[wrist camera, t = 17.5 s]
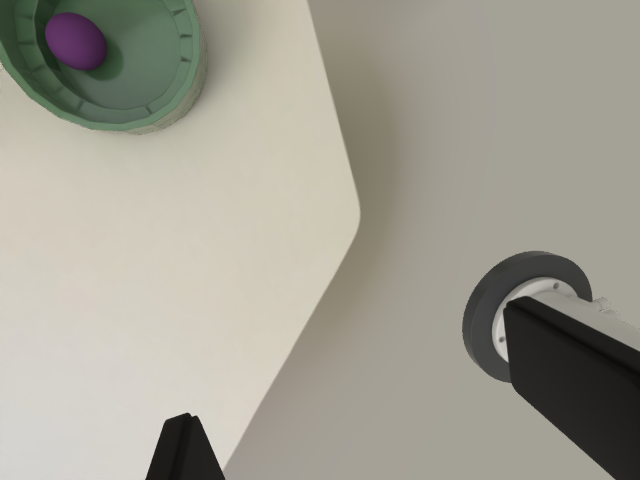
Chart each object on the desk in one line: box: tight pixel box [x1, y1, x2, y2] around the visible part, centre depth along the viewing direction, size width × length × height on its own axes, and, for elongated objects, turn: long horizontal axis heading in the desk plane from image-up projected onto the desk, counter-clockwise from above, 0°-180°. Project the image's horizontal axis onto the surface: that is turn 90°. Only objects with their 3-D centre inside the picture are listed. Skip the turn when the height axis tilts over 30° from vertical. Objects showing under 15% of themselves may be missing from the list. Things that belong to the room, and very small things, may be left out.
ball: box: [45, 12, 107, 71], centre depth 27 cm, size 4×4×4 cm
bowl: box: [0, 0, 207, 135], centre depth 28 cm, size 14×14×5 cm
